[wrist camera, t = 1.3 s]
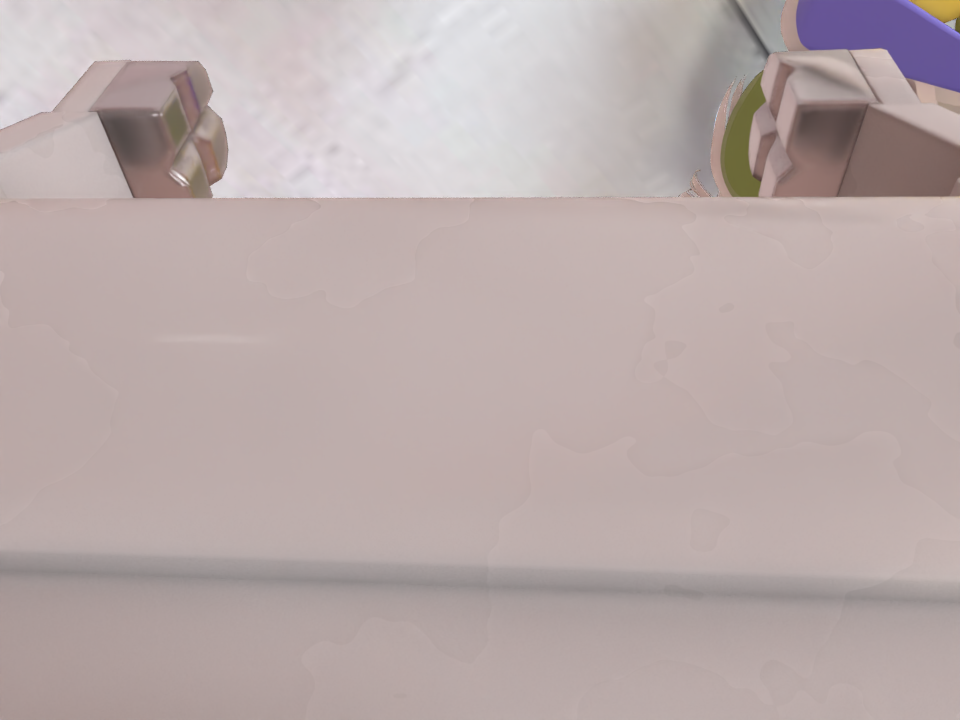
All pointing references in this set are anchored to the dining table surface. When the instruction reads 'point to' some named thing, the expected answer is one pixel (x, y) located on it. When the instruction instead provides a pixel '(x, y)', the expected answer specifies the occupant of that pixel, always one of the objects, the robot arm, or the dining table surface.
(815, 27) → the colorful pinata
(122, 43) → the dining table surface
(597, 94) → the dining table surface
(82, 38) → the dining table surface
